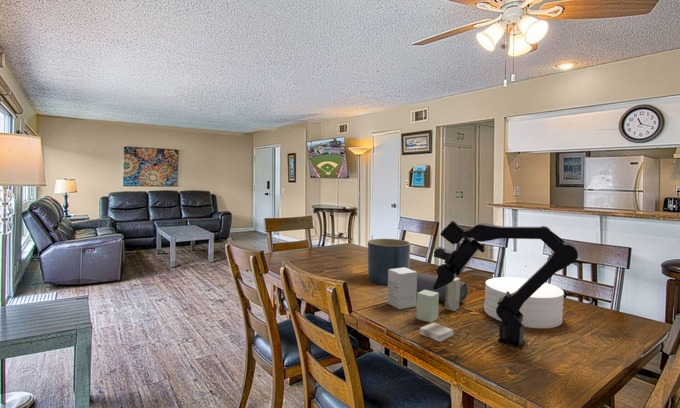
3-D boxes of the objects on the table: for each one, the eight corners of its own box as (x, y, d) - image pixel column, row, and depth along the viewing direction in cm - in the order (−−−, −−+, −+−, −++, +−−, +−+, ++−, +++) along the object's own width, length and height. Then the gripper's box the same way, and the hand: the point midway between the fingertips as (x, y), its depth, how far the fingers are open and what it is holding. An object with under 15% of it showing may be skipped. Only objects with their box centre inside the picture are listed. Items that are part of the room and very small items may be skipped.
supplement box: (403, 300, 163) (405, 266, 162) (416, 306, 155) (418, 271, 154) (386, 303, 159) (387, 268, 158) (398, 309, 151) (400, 273, 150)
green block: (437, 318, 143) (438, 292, 142) (431, 322, 138) (431, 296, 137) (423, 314, 146) (424, 289, 146) (416, 318, 142) (417, 293, 141)
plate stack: (473, 314, 148) (474, 286, 147) (498, 298, 168) (500, 273, 168) (551, 335, 129) (553, 303, 128) (569, 314, 149) (571, 286, 149)
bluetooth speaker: (467, 302, 162) (468, 279, 162) (459, 307, 155) (460, 284, 155) (421, 291, 177) (421, 270, 176) (411, 295, 170) (412, 274, 169)
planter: (364, 284, 187) (365, 244, 185) (368, 273, 208) (369, 237, 207) (409, 287, 183) (410, 246, 182) (408, 275, 205) (409, 239, 203)
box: (449, 305, 157) (450, 276, 156) (459, 308, 154) (460, 277, 153) (444, 309, 153) (445, 278, 152) (454, 311, 150) (455, 280, 149)
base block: (453, 336, 127) (453, 329, 127) (439, 343, 122) (439, 335, 122) (433, 329, 133) (433, 322, 133) (419, 335, 128) (420, 328, 128)
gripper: (451, 235, 140) (427, 265, 145) (438, 242, 124) (411, 276, 129) (476, 254, 136) (450, 285, 141) (465, 264, 120) (437, 298, 125)
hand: (437, 285), depth 134 cm, fingers open, 9 cm apart
